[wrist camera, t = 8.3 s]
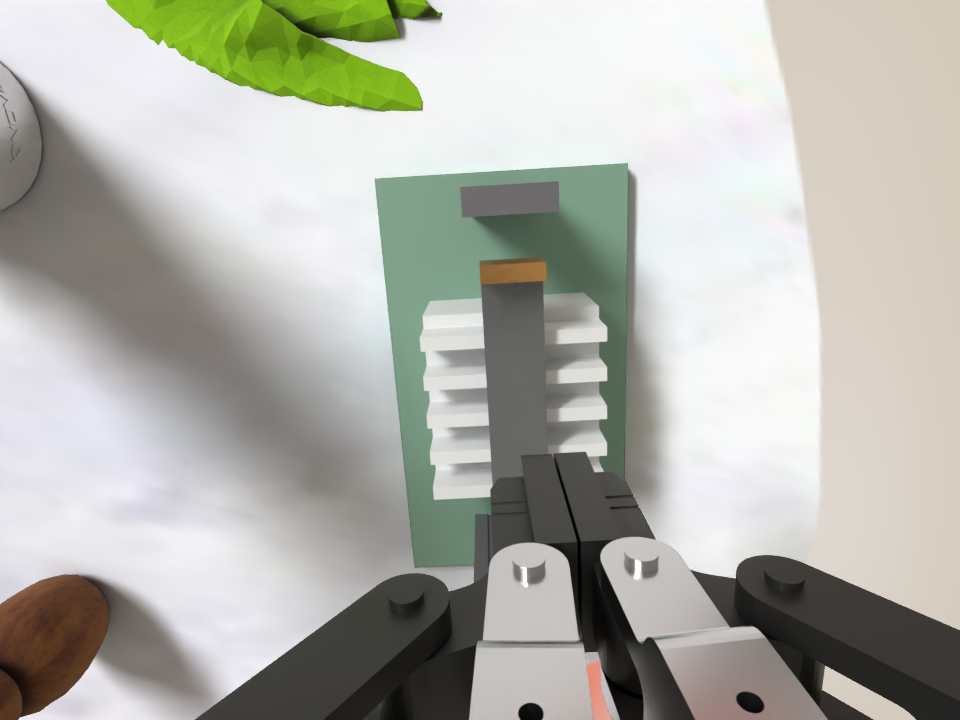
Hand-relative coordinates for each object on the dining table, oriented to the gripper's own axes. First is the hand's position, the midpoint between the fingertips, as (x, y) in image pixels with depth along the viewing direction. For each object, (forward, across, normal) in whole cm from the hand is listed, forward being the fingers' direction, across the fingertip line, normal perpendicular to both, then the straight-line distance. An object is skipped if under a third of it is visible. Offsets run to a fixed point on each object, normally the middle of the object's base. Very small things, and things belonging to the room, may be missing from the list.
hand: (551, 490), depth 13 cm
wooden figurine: (+23, +31, +19) cm, 43 cm away
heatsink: (+22, 0, +5) cm, 23 cm away
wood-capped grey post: (+15, 0, +6) cm, 16 cm away
